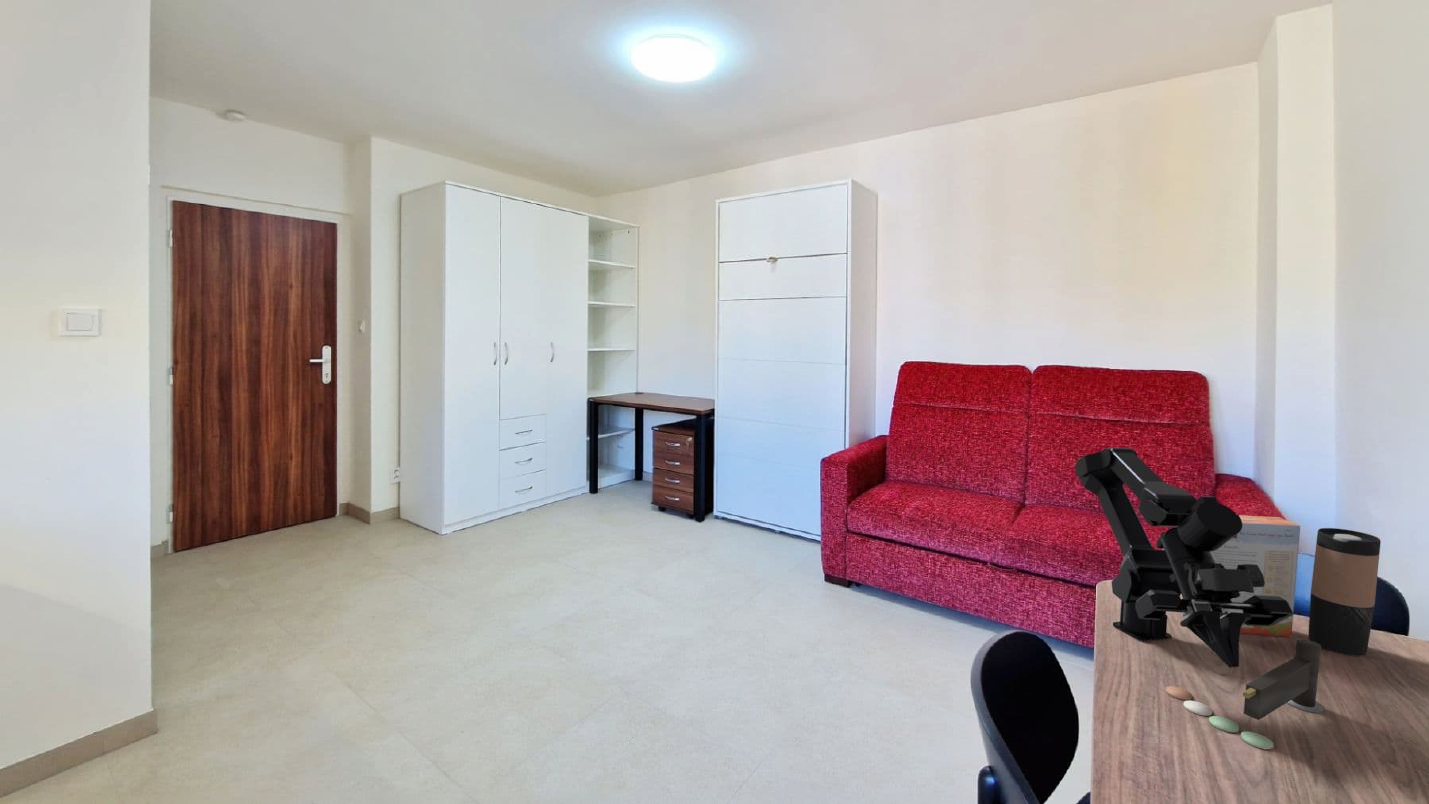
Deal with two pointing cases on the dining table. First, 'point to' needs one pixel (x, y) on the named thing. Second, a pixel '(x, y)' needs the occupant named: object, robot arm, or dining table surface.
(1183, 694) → the pebbles
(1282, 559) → the cracker box
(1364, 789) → the dining table surface
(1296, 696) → the hammer
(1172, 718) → the dining table surface
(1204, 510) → the robot arm
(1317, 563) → the travel mug
